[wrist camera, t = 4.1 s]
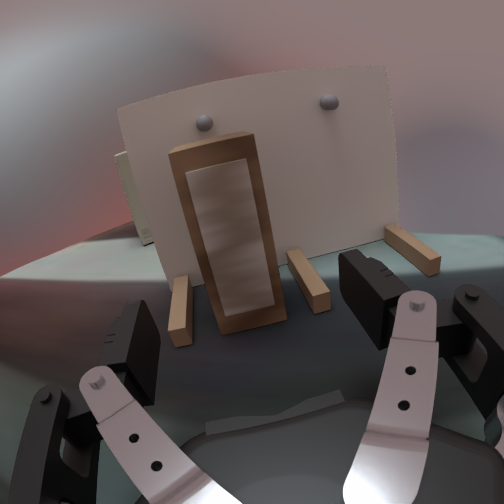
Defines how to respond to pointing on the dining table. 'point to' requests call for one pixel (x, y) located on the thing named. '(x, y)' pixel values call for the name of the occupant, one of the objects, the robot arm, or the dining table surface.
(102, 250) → the dining table surface
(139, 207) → the skincare box
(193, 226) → the frame block
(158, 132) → the white upright flat panel
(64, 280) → the dining table surface
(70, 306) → the dining table surface
